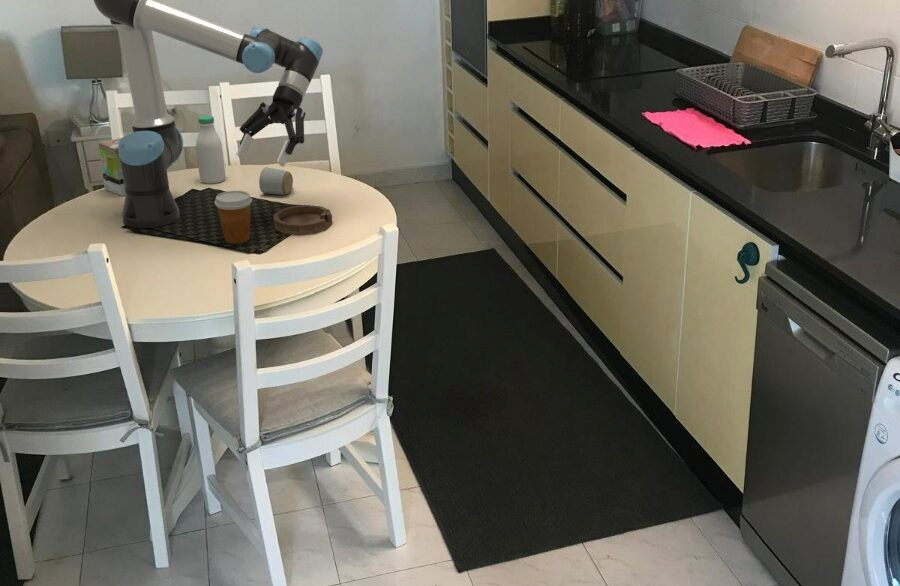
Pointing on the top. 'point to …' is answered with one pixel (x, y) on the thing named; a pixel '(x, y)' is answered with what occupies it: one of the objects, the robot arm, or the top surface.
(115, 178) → the tea box
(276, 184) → the ceramic mug
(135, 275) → the top surface
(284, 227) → the round brown ashtray
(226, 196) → the disposable coffee cup
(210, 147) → the milk bottle
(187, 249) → the top surface
